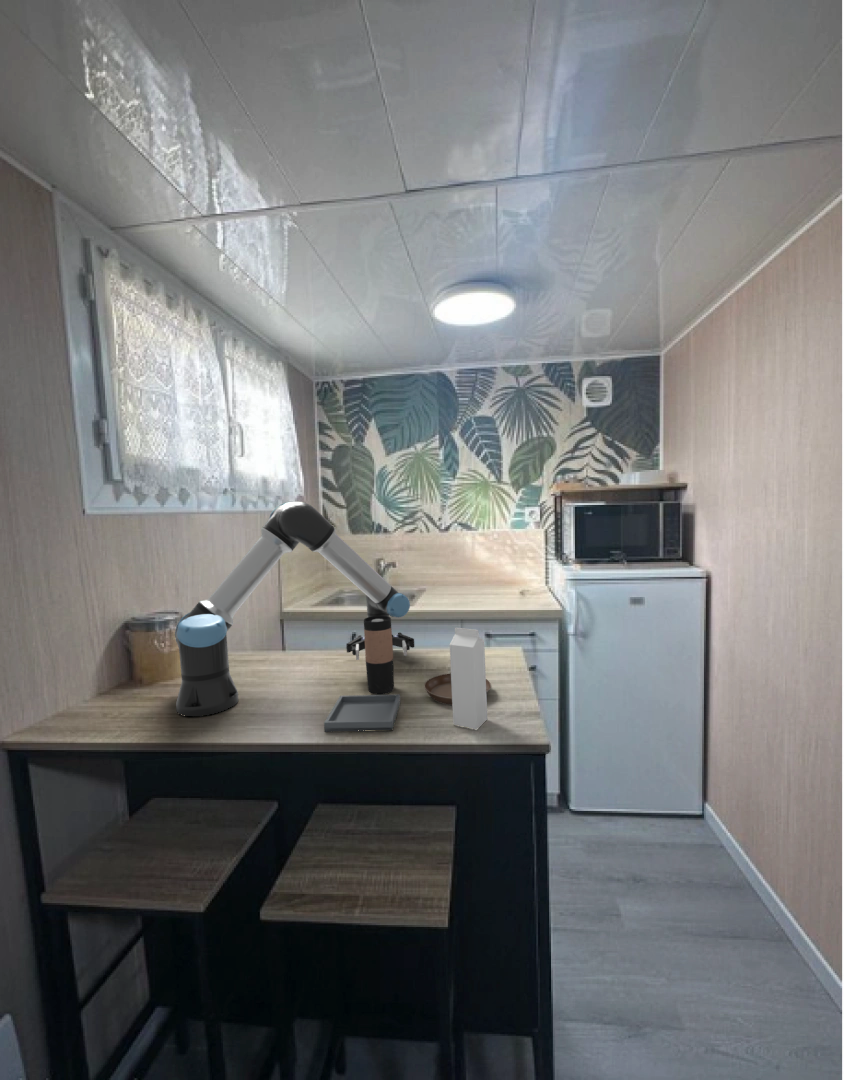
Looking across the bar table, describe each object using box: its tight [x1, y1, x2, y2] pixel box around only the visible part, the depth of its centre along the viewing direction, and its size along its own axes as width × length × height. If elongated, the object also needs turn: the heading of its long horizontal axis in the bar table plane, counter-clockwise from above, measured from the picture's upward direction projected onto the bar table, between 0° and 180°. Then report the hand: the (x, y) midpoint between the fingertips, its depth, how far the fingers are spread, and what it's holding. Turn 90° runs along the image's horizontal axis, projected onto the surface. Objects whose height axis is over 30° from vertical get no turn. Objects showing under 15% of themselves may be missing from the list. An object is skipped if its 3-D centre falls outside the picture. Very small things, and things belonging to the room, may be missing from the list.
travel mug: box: [363, 616, 395, 695], centre depth 133 cm, size 8×8×20 cm
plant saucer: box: [423, 672, 492, 706], centre depth 128 cm, size 18×18×3 cm
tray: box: [323, 693, 401, 733], centre depth 117 cm, size 16×16×2 cm
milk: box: [449, 627, 488, 730], centre depth 111 cm, size 6×6×22 cm
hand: (381, 653), depth 137 cm, fingers open, 13 cm apart
